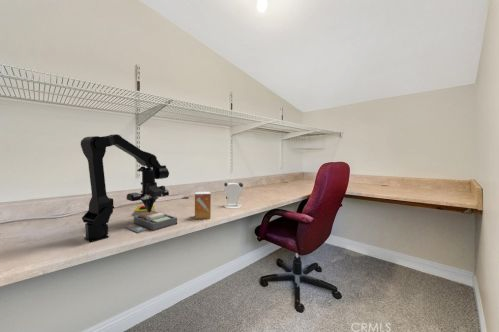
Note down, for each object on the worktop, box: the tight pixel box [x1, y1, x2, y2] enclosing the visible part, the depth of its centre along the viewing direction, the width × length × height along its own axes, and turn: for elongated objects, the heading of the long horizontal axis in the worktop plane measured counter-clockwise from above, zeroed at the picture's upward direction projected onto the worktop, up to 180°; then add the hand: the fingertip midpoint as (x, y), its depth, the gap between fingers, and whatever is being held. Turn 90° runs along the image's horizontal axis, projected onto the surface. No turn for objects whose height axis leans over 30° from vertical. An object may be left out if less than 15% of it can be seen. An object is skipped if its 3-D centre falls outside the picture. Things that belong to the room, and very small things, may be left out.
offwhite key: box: [146, 212, 165, 221], centre depth 106 cm, size 7×4×2 cm, turn 144°
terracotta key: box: [140, 210, 159, 218], centre depth 109 cm, size 7×4×2 cm, turn 144°
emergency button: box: [133, 204, 156, 218], centre depth 125 cm, size 9×4×15 cm
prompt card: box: [124, 223, 148, 234], centre depth 98 cm, size 4×12×1 cm, turn 53°
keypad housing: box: [133, 211, 178, 232], centre depth 106 cm, size 12×17×3 cm
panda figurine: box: [223, 182, 244, 209], centre depth 141 cm, size 12×11×15 cm
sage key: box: [153, 217, 171, 223], centre depth 103 cm, size 7×4×2 cm, turn 144°
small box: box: [194, 191, 212, 220], centre depth 117 cm, size 8×6×13 cm
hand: (149, 212), depth 109 cm, fingers closed
